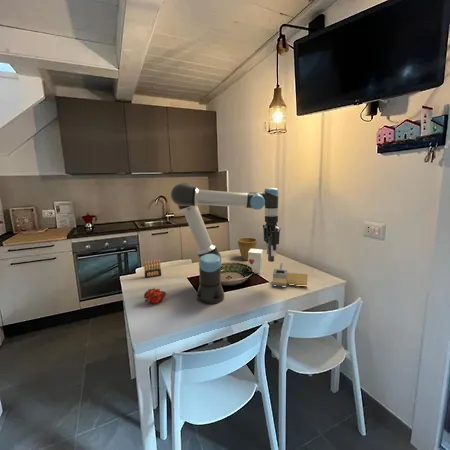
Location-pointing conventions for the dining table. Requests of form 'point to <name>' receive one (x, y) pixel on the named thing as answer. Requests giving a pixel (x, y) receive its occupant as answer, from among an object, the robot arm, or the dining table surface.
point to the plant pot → (246, 246)
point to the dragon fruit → (154, 295)
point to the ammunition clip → (152, 269)
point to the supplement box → (255, 259)
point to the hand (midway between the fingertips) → (271, 254)
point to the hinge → (288, 277)
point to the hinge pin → (270, 258)
